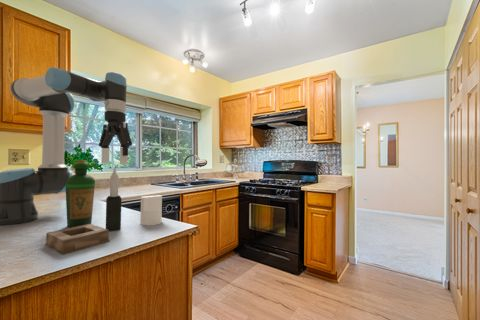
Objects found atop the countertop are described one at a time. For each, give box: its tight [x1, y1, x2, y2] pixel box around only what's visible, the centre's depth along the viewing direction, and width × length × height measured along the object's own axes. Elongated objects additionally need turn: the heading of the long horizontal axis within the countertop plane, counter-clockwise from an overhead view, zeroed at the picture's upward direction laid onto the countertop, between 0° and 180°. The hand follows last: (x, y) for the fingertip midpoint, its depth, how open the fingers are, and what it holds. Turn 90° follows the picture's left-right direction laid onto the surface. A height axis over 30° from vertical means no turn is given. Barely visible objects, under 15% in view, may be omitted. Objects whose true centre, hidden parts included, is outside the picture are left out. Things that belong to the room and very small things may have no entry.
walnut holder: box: [44, 223, 110, 255], centre depth 75 cm, size 14×14×4 cm
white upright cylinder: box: [139, 194, 163, 226], centre depth 102 cm, size 9×9×12 cm
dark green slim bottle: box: [105, 167, 122, 232], centre depth 91 cm, size 5×5×25 cm
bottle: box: [65, 159, 96, 228], centre depth 96 cm, size 11×11×28 cm
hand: (114, 163), depth 91 cm, fingers open, 13 cm apart
